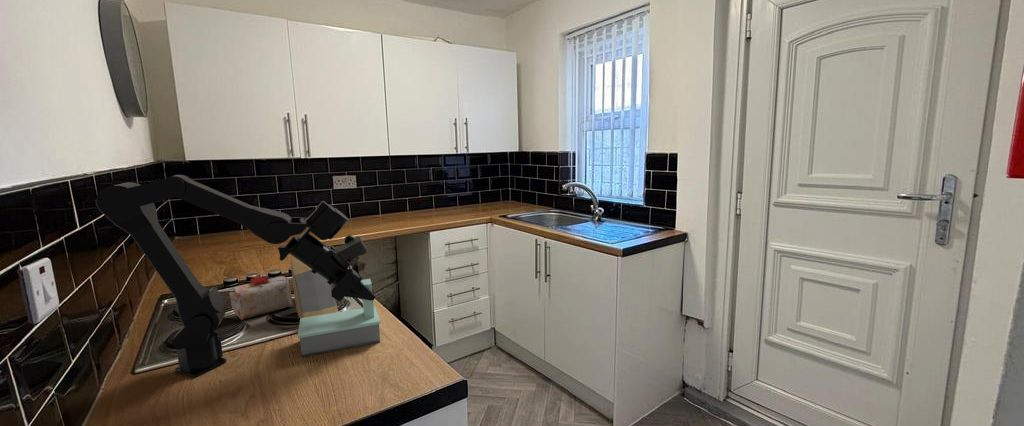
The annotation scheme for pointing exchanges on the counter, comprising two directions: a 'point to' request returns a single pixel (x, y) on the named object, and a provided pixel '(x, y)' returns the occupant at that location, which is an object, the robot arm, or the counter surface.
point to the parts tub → (339, 340)
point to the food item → (261, 296)
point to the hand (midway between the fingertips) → (373, 295)
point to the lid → (340, 319)
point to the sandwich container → (311, 291)
